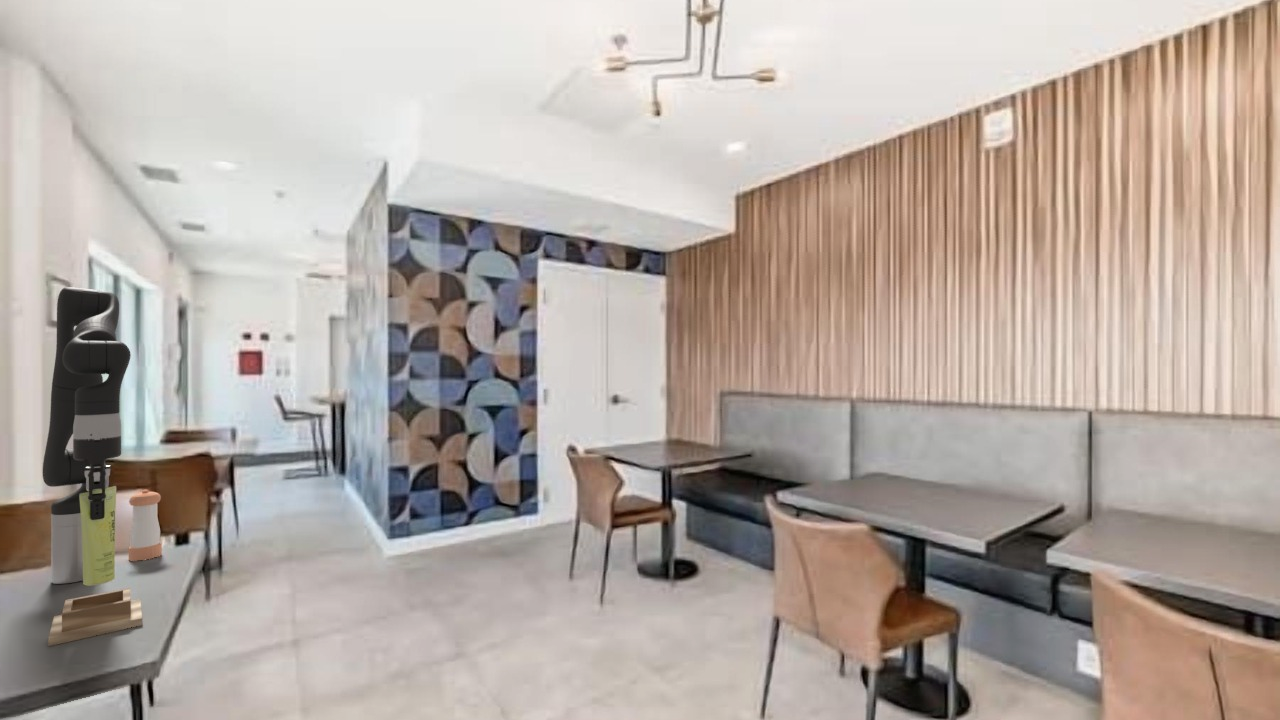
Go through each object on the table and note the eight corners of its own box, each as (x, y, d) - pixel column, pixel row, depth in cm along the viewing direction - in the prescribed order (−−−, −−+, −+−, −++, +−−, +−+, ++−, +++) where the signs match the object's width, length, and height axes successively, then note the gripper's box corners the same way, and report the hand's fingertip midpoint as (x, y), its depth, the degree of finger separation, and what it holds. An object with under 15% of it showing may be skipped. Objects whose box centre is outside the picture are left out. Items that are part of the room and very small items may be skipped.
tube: (112, 583, 126) (111, 490, 126) (79, 589, 123) (79, 493, 123) (116, 576, 130) (116, 485, 131) (85, 581, 128) (85, 488, 128)
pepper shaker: (122, 562, 168) (122, 492, 168) (139, 554, 175) (139, 487, 175) (151, 560, 169) (151, 491, 169) (167, 552, 176) (167, 486, 176)
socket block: (54, 623, 127) (54, 599, 127) (140, 605, 136) (140, 583, 136) (48, 646, 117) (48, 620, 117) (142, 625, 126) (142, 601, 126)
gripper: (75, 434, 130) (75, 513, 130) (71, 440, 119) (71, 526, 119) (121, 431, 135) (121, 508, 135) (121, 437, 124) (121, 520, 124)
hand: (97, 516), depth 127 cm, fingers closed on tube, 4 cm apart
